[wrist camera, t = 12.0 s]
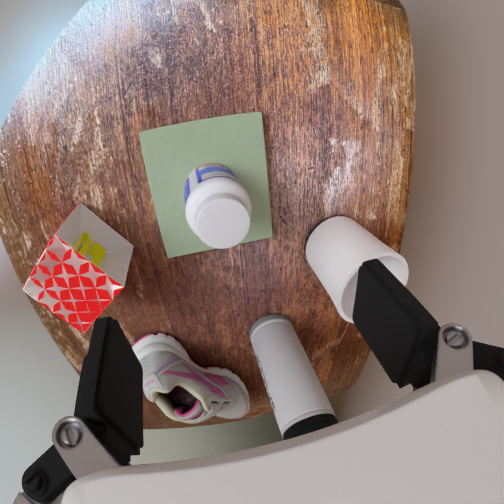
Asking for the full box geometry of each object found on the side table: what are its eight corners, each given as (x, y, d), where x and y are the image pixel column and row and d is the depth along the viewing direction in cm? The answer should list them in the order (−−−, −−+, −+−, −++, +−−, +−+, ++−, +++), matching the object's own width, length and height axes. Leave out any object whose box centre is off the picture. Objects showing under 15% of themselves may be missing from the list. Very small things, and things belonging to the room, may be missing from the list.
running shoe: (221, 406, 50) (231, 451, 42) (116, 355, 39) (110, 411, 30) (258, 382, 48) (273, 429, 40) (152, 322, 37) (150, 381, 29)
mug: (300, 216, 35) (341, 261, 26) (365, 207, 36) (415, 245, 27) (299, 291, 40) (330, 344, 31) (356, 278, 42) (395, 324, 33)
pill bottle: (212, 222, 32) (226, 271, 23) (172, 191, 29) (170, 232, 21) (247, 183, 30) (275, 220, 22) (208, 150, 28) (221, 173, 20)
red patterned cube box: (134, 245, 32) (124, 287, 25) (97, 288, 33) (83, 333, 26) (79, 201, 28) (54, 233, 21) (46, 250, 29) (21, 289, 22)
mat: (139, 131, 26) (138, 132, 25) (259, 111, 28) (261, 111, 27) (167, 255, 33) (167, 258, 33) (270, 234, 35) (272, 237, 34)
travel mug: (300, 321, 43) (360, 437, 26) (270, 349, 45) (315, 464, 28) (271, 304, 40) (328, 434, 23) (239, 335, 42) (278, 464, 25)
